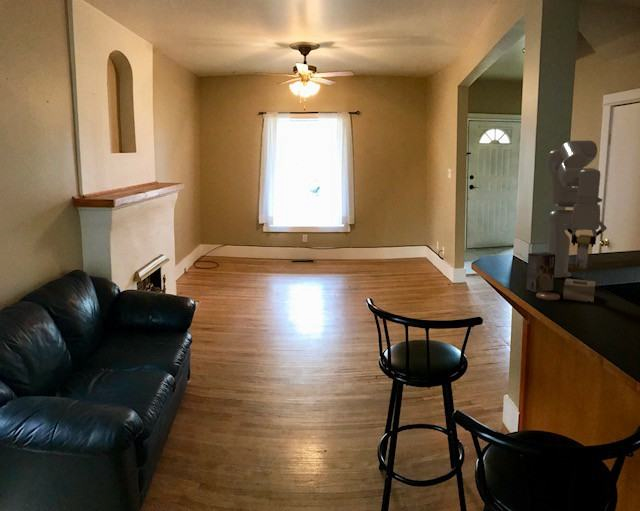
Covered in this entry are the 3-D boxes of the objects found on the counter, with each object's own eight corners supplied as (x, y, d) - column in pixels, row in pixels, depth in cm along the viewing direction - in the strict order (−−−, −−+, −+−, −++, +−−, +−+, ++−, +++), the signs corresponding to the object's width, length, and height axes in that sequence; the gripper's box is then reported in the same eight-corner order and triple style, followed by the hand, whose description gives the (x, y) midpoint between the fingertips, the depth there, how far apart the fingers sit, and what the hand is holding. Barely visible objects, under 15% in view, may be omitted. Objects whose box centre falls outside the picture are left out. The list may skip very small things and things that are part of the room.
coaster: (537, 293, 216) (537, 291, 216) (561, 296, 212) (561, 293, 212) (535, 298, 208) (535, 296, 208) (559, 301, 204) (559, 299, 204)
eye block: (564, 292, 217) (566, 278, 216) (594, 295, 212) (595, 281, 211) (562, 298, 208) (564, 284, 207) (593, 302, 203) (594, 287, 202)
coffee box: (543, 287, 226) (546, 251, 223) (553, 290, 220) (556, 254, 217) (525, 288, 224) (528, 253, 220) (535, 292, 218) (538, 255, 214)
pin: (573, 265, 212) (576, 234, 209) (589, 266, 209) (592, 235, 206) (572, 268, 207) (575, 236, 204) (589, 269, 204) (592, 237, 201)
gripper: (612, 200, 202) (607, 245, 205) (563, 199, 210) (560, 242, 213) (612, 202, 195) (607, 249, 199) (562, 201, 203) (558, 245, 207)
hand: (583, 245), depth 206 cm, fingers closed on pin, 6 cm apart
